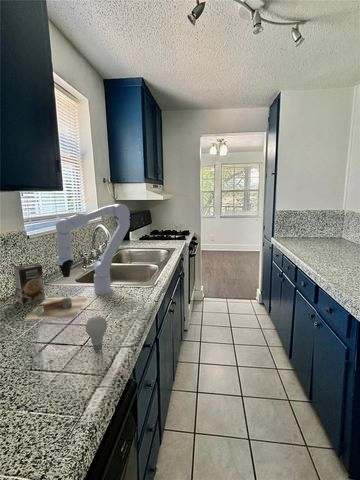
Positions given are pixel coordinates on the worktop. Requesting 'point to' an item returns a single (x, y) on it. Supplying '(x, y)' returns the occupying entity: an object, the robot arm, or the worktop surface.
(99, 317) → the lightbulb
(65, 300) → the lever
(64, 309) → the dial board
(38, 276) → the coffee box
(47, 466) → the worktop surface
